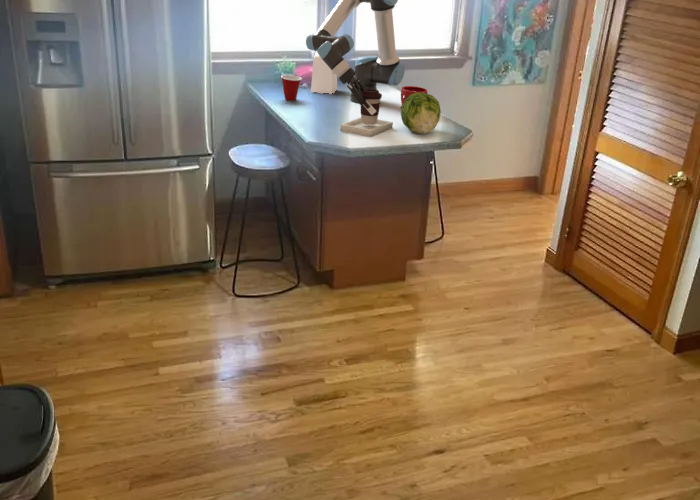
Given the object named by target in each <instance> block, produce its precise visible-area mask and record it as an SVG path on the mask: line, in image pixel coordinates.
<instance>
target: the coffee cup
mask: <svg viewBox="0 0 700 500" xmlns="http://www.w3.org/2000/svg"><path fill="white" fill-rule="evenodd" d="M362 94H363V96H364V97H365V99H366V101H367V100H368V102H369V103H370V104H371V105H372V106H373V108H374V109H375V110H376V112H375V113H374V114H373V115H371V114H370V113H369V111H368V110H367V109H366V108H365V107H364V106H363V104H362V105H360V117H361V122H362V123H363V124H367V125H374V124H376V123H377V119H378V118H379V113H380V108H381V107H380V106H381V99H382V96H383V94H382V93H380V91H379V90H378V89H377V90H376V89H364V90H363V92H362ZM379 107H380V108H379ZM378 120H379V119H378Z"/></svg>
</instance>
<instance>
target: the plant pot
mask: <svg viewBox="0 0 700 500" xmlns="http://www.w3.org/2000/svg"><path fill="white" fill-rule="evenodd" d="M400 90H401V91H400V103H401V106H400V110H401V109H402V105H403V103H404V101H405V100H406V99H407V98H408V97H409V96H410V95H412V94H414V93H426V94H428V89H426V88H425V87H420V86H415V85H414V86H411V85H406V86H405V85H404V86H402V87H401V89H400Z"/></svg>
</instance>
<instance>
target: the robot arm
mask: <svg viewBox="0 0 700 500" xmlns="http://www.w3.org/2000/svg"><path fill="white" fill-rule="evenodd" d="M398 1H399V0H339V1H338V2H337V4H336V5H335V7H333V9H332V10H331V12H330V13H329V15H327V17H326V18H325V20H324V22H323V23H322V24H321V26H320V27H319V28H318V29H317V31H316V32H315V33H309V34H307V36H306V39H305V45H306V47H307V49H308V50H310V51H313V52H316V51H317V53H318V54H319V56H320V57H321V59H322V60H323V61H324V62H325V63H326V64H327V65H328V67H329V68H330V69H331V70H332V71H333V74H335V75H336V76H337V78H338V80H339V81H340V82H341V84H342V85H345V84H347V86H346V87H347V89H348V90H349V91H350V92H351V93H350V102H353V103H357V104H359V105H360V106H361V105H362V104H363V106H364V107H365V108H366V109H367V110H368V111H369V113H370V114H371V115H373V114H374V113H375V112H376V110H375V109H374V108H373V106H372V105H371V104H370V103H369V102H368V100H367V101H366V99H365V97H364V96H363V94H362V92H363V90H364V89H376V90H378V88H377V84H381V85H387V86H392V87H393V86H398V85H400V84H401V82H403V81H402V80H403V79H404V76H405V72H406V68H405V65H404V63H402V62H400V56H399V55H397V53H396V41H395V27H394V18H393V17H394V16H393V9H395V7H396V4H397V3H398ZM362 3H365V4H366V3H367V4H370V9H371V11H372V12H374V20H375V29H376V40H377V49H378V55H365V56H364V55H363V56H358V57H357V58H356V59H355V64H354V69H353V68H352V67H351V66H350V64H349V63H348V62H347V61H346V59H345V58H344V56H346V55H347V54H348V53H349V52H350V51H351V50H352V49H353V48H354V46H355V41H354V39H353V37H352V36H351V35H349V34H347V33H346V34H342V35H340V36H335V35H336V34H337V33H338V32H339V30H340V28H341V27H342V26H343V24H344V23H345V21H346V20H347V19H348V17H349V16H350V15H351V13H352V11H353V10H354V9H355V8H358V7H359V5H361V4H362ZM380 108H382V106H381V105H380V107H379V109H380Z"/></svg>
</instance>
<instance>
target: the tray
mask: <svg viewBox="0 0 700 500" xmlns="http://www.w3.org/2000/svg"><path fill="white" fill-rule="evenodd" d="M393 126H394V122H393V121H389V120H384V119H383V120H381V119H377V123H376V124H374V125H367V124H363V123H362V122H361V116H360V117H358V118H355V119H352V120H349V121H346V122H344V123H341V124H340V130H339V131H341V132H346V133H349V134H355V135H361V136H365V137H370V138H371V137H375V136H377V135H379V134H382V133H384V132H387V131H389V130H391V129H393V128H394V127H393Z"/></svg>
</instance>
